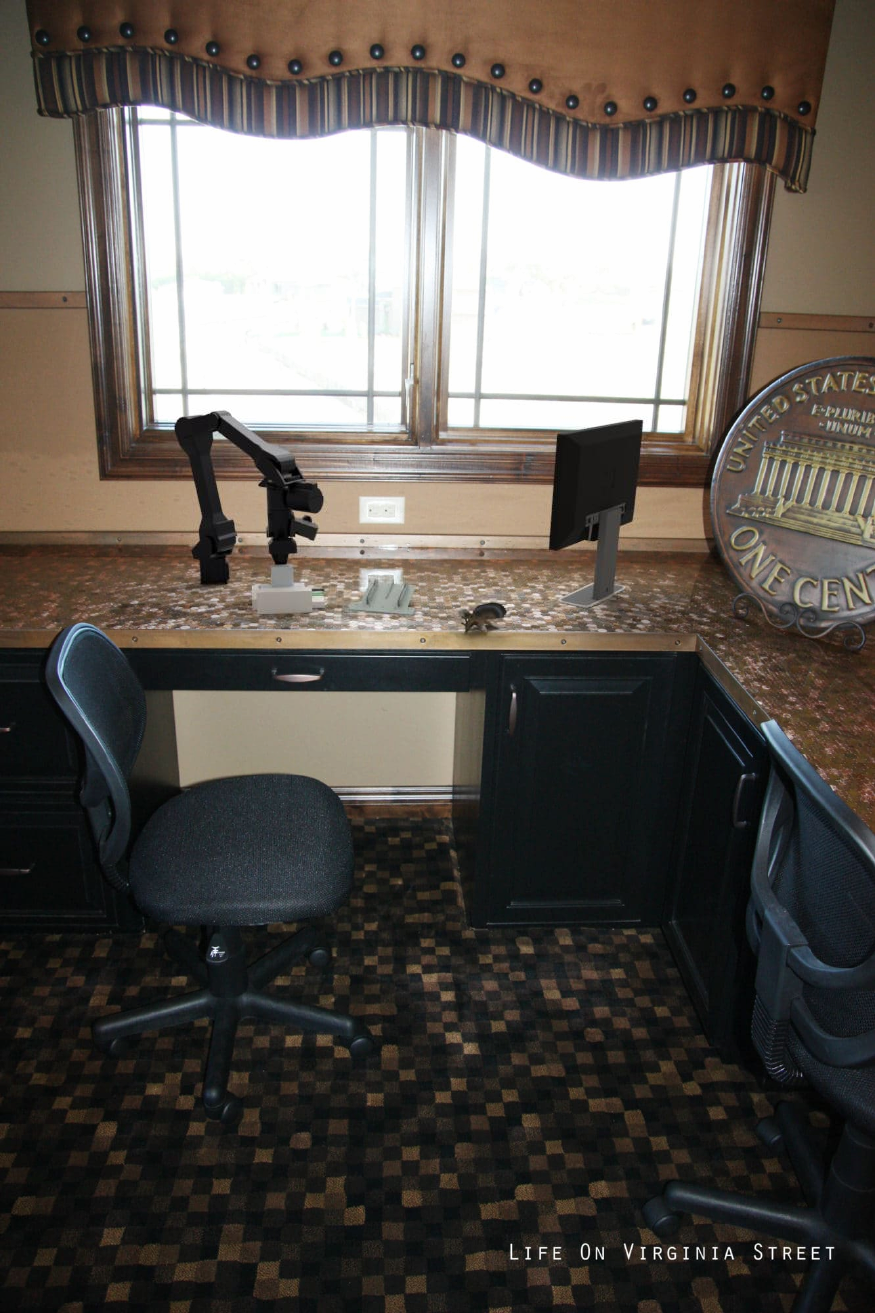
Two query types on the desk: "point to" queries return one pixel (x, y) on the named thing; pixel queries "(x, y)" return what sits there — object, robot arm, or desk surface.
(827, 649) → the desk surface
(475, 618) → the animal figurine
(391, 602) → the metal bracket
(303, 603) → the gauge housing
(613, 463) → the computer monitor
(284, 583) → the gauge plunger
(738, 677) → the desk surface
